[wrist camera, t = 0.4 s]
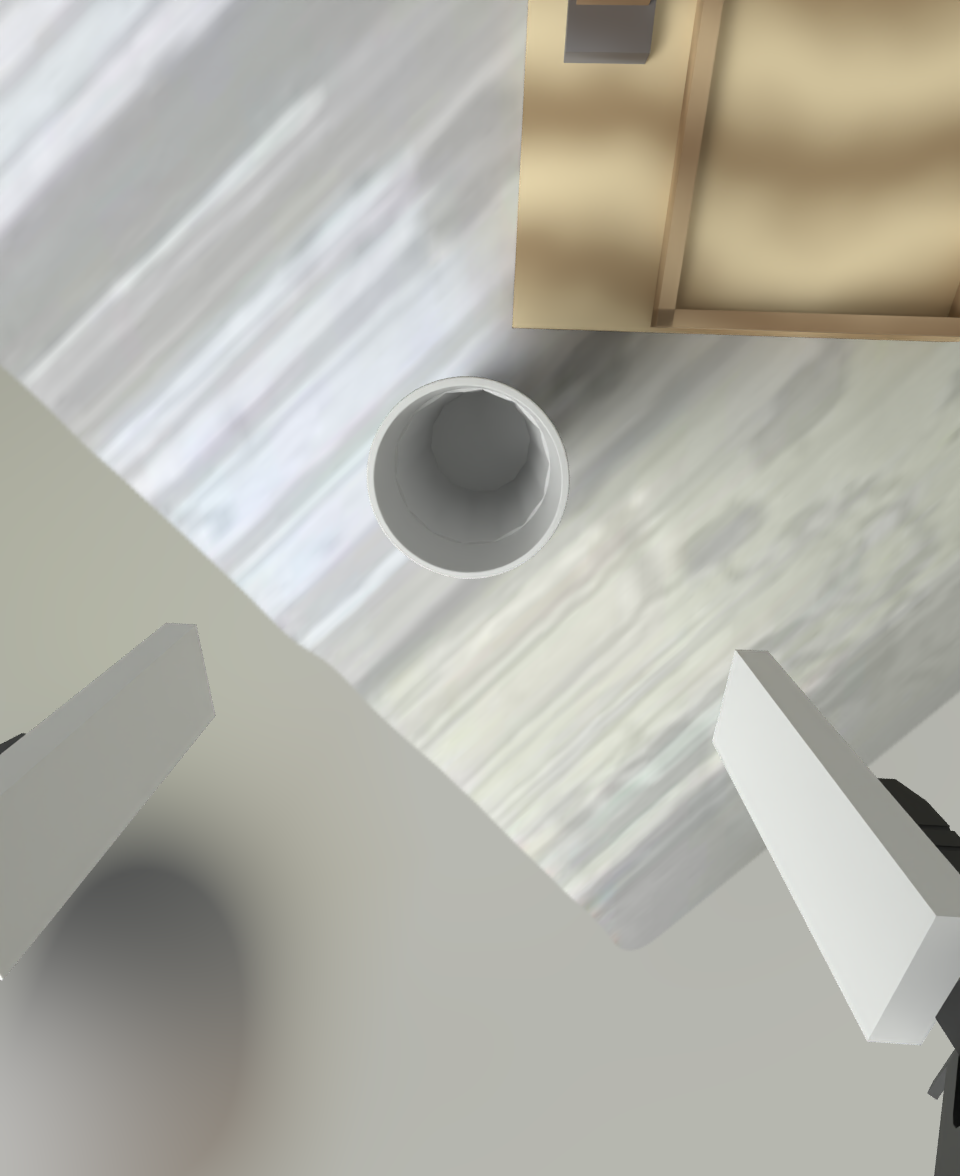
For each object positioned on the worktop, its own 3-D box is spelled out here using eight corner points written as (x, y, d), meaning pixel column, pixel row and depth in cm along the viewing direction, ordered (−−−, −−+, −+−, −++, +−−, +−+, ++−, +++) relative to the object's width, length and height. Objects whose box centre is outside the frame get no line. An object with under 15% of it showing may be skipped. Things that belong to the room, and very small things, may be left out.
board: (532, -86, 23) (551, -431, 13) (1088, -83, 22) (1576, -446, 12) (512, 328, 30) (513, 317, 19) (942, 341, 29) (1180, 337, 19)
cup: (552, 366, 30) (576, 376, 19) (545, 504, 34) (563, 580, 23) (411, 366, 31) (357, 376, 20) (418, 503, 34) (375, 577, 23)
